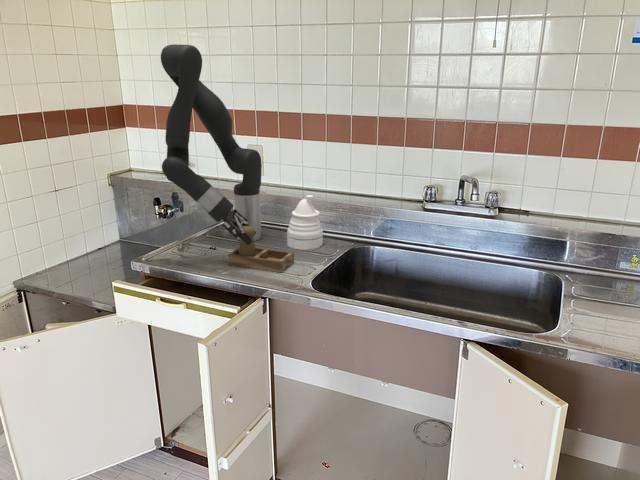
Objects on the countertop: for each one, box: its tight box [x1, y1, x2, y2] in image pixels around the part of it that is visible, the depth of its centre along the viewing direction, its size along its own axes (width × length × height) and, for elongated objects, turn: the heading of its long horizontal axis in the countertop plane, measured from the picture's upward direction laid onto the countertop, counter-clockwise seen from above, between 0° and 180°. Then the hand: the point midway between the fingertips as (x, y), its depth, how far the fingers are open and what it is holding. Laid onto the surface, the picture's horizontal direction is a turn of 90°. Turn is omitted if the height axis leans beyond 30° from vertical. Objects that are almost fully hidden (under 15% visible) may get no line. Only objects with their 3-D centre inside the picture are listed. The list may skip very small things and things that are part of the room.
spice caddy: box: [227, 246, 295, 274], centre depth 165 cm, size 10×19×4 cm, turn 70°
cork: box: [238, 226, 256, 257], centre depth 165 cm, size 6×6×11 cm
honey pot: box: [286, 194, 324, 251], centre depth 183 cm, size 13×13×18 cm
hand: (252, 238), depth 165 cm, fingers open, 8 cm apart
